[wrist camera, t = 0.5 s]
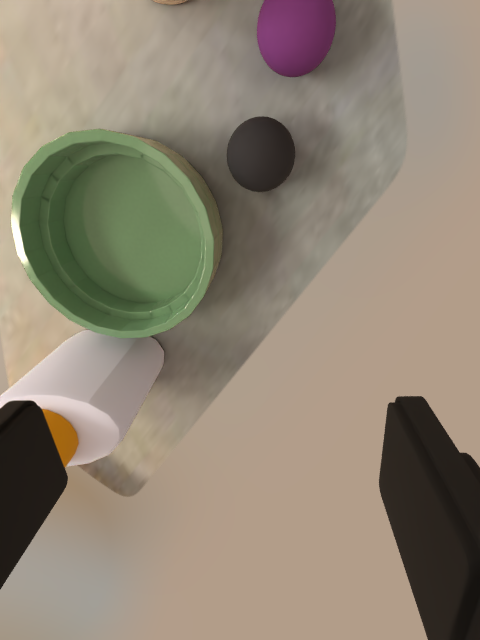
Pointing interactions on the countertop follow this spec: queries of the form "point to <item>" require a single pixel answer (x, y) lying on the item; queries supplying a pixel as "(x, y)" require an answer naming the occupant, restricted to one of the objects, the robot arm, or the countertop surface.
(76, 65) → the countertop surface
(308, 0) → the purple ball
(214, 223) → the green bowl
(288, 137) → the charcoal ball
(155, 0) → the teacup with lid
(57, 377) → the soap bottle
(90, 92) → the countertop surface
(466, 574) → the robot arm
